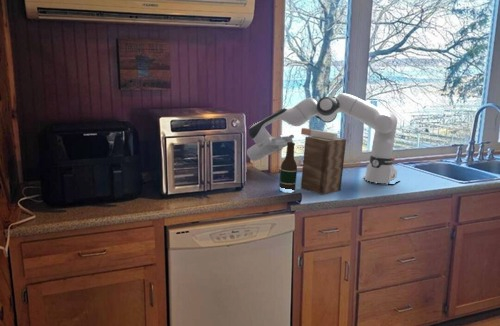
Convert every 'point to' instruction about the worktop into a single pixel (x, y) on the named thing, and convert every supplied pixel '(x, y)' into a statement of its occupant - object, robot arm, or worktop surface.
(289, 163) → the beer bottle
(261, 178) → the worktop surface
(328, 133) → the bar
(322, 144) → the shelf
